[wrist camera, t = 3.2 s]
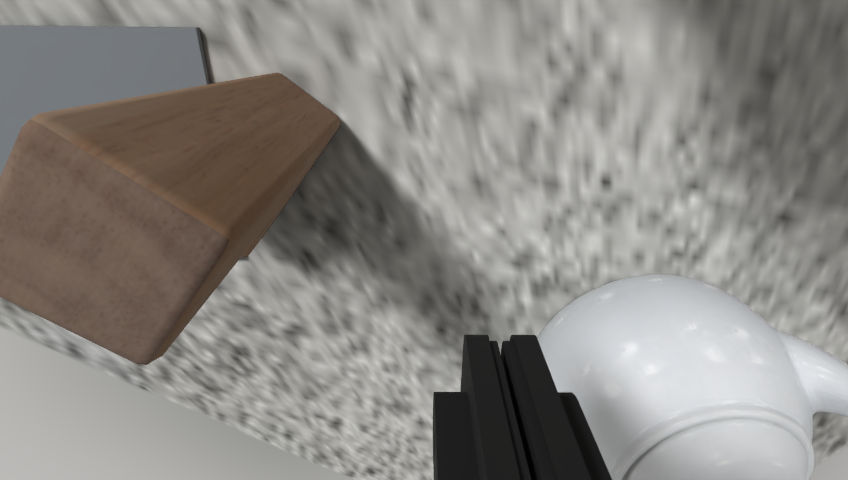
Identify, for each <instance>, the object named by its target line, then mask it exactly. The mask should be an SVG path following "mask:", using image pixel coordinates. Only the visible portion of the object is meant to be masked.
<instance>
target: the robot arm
mask: <svg viewBox="0 0 848 480" xmlns="http://www.w3.org/2000/svg"><path fill="white" fill-rule="evenodd" d="M433 463H434V480H612V478H611V476H610V473H609V471H608V469H607V466H606V464H605V462H604V459H603V457H602V455H601V452H600V450H599V448H598V446H597V443H596V441H595V439H594V436H593V434H592V432H591V429H590V427H589V425H588V422H587V420H586V418H585V415H584V413H583V411H582V408H581V406H580V404H579V401H578V399H577V398H576V396H575V395H574V394H573V393H572V392H558V391H557V389H556V386H555V383H554V381H553V378H552V376H551V373H550V370H549V368H548V365H547V363H546V360H545V357H544V355H543V352H542V350H541V347H540V344H539V342H538V339H537V337H536V336H535V335H511V337H510V341H503V343H502V349H501V355H500V351H499V347H498V343H497V341H489V337H488V335H464V344H463V361H462V378H461V392H434V398H433Z"/></svg>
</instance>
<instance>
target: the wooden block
mask: <svg viewBox="0 0 848 480" xmlns="http://www.w3.org/2000/svg"><path fill="white" fill-rule="evenodd" d="M340 123H341V120H340V119H339V117H338V116H337V115H336V114H334V113H333V112H332V111H330V110H329V109H328V108H326V107H325V106H324V105H322V104H321V103H320V102H318V101H317V100H316V99H314V98H313V97H312V96H310V95H309V94H308V93H306V92H305V91H304V90H302V89H301V88H300V87H298V86H297V85H296V84H294V83H293V82H292V81H290V80H289V79H288V78H286V77H285V76H284V75H282V74H279V73H272V74H266V75H260V76H254V77H249V78H243V79H237V80H231V81H225V82H219V83H213V84H208V85H202V86H196V87H190V88H184V89H178V90H172V91H166V92H161V93H155V94H149V95H143V96H137V97H131V98H125V99H119V100H114V101H108V102H102V103H96V104H90V105H84V106H78V107H72V108H67V109H61V110H55V111H49V112H43V113H38V114H37V115H35V116H34V117H32V118H31V119H30V120H28V121H27V122H26V123H25V124H24V125H23V126H22V127H21V130H20V132H19V134H18V137H17V139H16V141H15V144H14V146H13V148H12V150H11V153H10V155H9V157H8V160H7V162H6V164H5V167H4V169H3V171H2V174H1V176H0V297H2V298H4V299H6V300H8V301H10V302H12V303H14V304H16V305H18V306H20V307H22V308H24V309H26V310H28V311H30V312H32V313H34V314H36V315H38V316H40V317H42V318H44V319H47V320H49V321H51V322H53V323H55V324H57V325H59V326H61V327H63V328H65V329H67V330H69V331H71V332H73V333H75V334H77V335H79V336H81V337H83V338H85V339H87V340H89V341H91V342H93V343H95V344H97V345H99V346H101V347H103V348H106V349H108V350H110V351H112V352H114V353H116V354H118V355H120V356H122V357H124V358H126V359H128V360H130V361H132V362H134V363H138V364H145V365H147V364H149V363H150V362H152V361H154V360H156V359H157V358H159V357H161V356H163V354H164V353H165V352H166V351H167V349H168V348H169V347H170V346H171V344H172V343H173V342H174V340H175V339H176V338H177V337H178V335H179V334H180V333H181V332H182V330H183V329H184V328H185V327H186V325H187V324H188V323H189V322H190V320H191V319H192V318H193V317H194V315H195V314H196V313H197V312H198V310H199V309H200V308H201V307H202V305H203V304H204V303H205V302H206V300H207V299H208V298H209V296H210V295H211V294H212V293H213V291H214V290H215V289H216V288H217V286H218V285H219V284H220V283H221V281H222V280H223V279H224V278H225V276H226V275H227V274H228V273H229V271H230V270H231V269H232V268H233V266H234V265H235V264H236V263H237V261H238V260H239V259H240V258H244V257H246V256H248V255H249V254H250V253H251V252H252V250H253V249H254V248H255V246H256V245H257V244H258V242H259V241H260V240H261V238H262V237H263V236H264V235H265V233H266V232H267V231H268V229H269V228H270V226H271V225H272V223H273V222H274V221H275V219H276V218H277V216H278V215H279V213H280V212H281V210H282V209H283V208H284V206H285V205H286V203H287V202H288V200H289V199H290V198H291V196H292V195H293V193H294V192H295V190H296V189H297V187H298V186H299V185H300V183H301V182H302V180H303V179H304V177H305V176H306V174H307V173H308V172H309V170H310V169H311V167H312V166H313V164H314V163H315V161H316V160H317V159H318V157H319V156H320V154H321V153H322V151H323V150H324V148H325V147H326V146H327V144H328V143H329V141H330V140H331V138H332V137H333V135H334V134H335V133H336V131H337V130H338V128H339V127H340Z"/></svg>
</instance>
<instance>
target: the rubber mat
mask: <svg viewBox="0 0 848 480" xmlns="http://www.w3.org/2000/svg"><path fill="white" fill-rule="evenodd" d="M208 84H210V81H209V76H208V71H207V66H206V61H205V55H204V50H203V45H202V40H201V35H200V30H199V28H180V27H79V26H0V176H1V174H2V171H3V169H4V167H5V164H6V162H7V160H8V157H9V155H10V153H11V150H12V148H13V146H14V144H15V141H16V139H17V137H18V134H19V132H20V130H21V127H22V126H23V125H24V124H25V123H26V122H27V121H28V120H30V119H31V118H32V117H34V116H35V115H37V114H38V113H43V112H49V111H55V110H61V109H67V108H72V107H78V106H84V105H90V104H96V103H102V102H108V101H114V100H119V99H125V98H131V97H137V96H143V95H149V94H155V93H161V92H166V91H172V90H178V89H184V88H190V87H196V86H202V85H208ZM240 259H242V258H240Z"/></svg>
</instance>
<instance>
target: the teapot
mask: <svg viewBox="0 0 848 480" xmlns="http://www.w3.org/2000/svg"><path fill="white" fill-rule="evenodd" d="M537 339H538V342H539V344H540V347H541V350H542V352H543V355H544V357H545V360H546V363H547V365H548V368H549V370H550V373H551V376H552V378H553V381H554V383H555V386H556V389H557V391H558V392H572V393H573V394H574V395H575V396H576V398H577V399H578V401H579V404H580V406H581V408H582V411H583V413H584V415H585V418H586V420H587V422H588V425H589V427H590V429H591V432H592V434H593V436H594V439H595V441H596V443H597V446H598V448H599V450H600V452H601V455H602V457H603V459H604V462H605V464H606V466H607V469H608V471H609V473H610V476H611V478H612V480H809V479H810V477H811V475H812V472H813V470H814V464H815V456H814V450H813V447H812V437H813V414H815V413H816V412H830V413H836V414H840V415H844V416H847V417H848V364H846V363H845V362H843V361H841V360H840V359H838V358H836V357H834V356H833V355H831V354H829V353H828V352H826V351H824V350H822V349H821V348H819V347H817V346H815V345H813V344H811V343H809V342H807V341H805V340H802V339H800V338H798V337H795V336H793V335H790V334H787V333H785V332H782V331H779V330H776V329H774V328H773V327H771V326H770V325H769V324H768V323H767V322H766V321H765V320H764V319H763V318H762V317H760V316H759V315H758V314H757V313H756V312H755V311H754V310H752V309H751V308H750V307H748V306H747V305H746V304H744V303H743V302H741V301H740V300H738V299H737V298H735V297H734V296H732V295H730V294H729V293H727V292H725V291H723V290H721V289H719V288H717V287H715V286H713V285H711V284H708V283H705V282H702V281H699V280H695V279H692V278H688V277H683V276H676V275H664V274H653V275H640V276H634V277H628V278H624V279H620V280H616V281H613V282H610V283H608V284H605V285H602V286H600V287H598V288H596V289H593V290H591V291H589V292H587V293H585V294H584V295H582V296H580V297H578V298H577V299H575V300H574V301H572V302H571V303H570V304H568V305H567V306H566V307H564V308H563V309H562V310H561V311H560V312H559V313H557V314H556V315H555V316H554V317H553V318H552V320H551V321H550V322H549V323H548V324H547V325H546V326H545V328H544V329H543V331H542V332H541V334H540V335H539V337H538V338H537Z"/></svg>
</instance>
